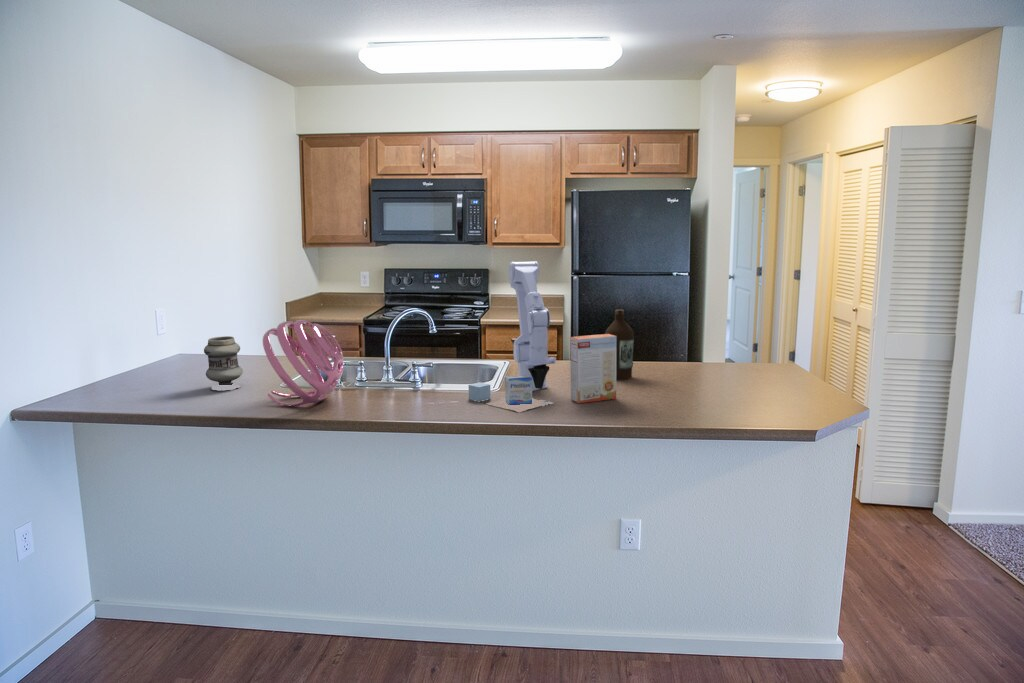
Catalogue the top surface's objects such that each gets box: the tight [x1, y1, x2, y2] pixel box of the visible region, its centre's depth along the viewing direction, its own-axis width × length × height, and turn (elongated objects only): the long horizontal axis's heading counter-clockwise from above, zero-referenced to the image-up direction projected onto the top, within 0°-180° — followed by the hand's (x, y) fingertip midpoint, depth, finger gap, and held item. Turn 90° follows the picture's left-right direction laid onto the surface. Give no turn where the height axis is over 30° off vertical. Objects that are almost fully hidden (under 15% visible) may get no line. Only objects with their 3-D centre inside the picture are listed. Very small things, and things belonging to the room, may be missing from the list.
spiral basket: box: [262, 319, 344, 407], centre depth 229 cm, size 28×28×27 cm
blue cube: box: [468, 382, 491, 402], centre depth 232 cm, size 5×5×5 cm
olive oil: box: [604, 309, 635, 381], centre depth 260 cm, size 11×11×25 cm
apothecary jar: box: [203, 335, 244, 385], centre depth 250 cm, size 12×12×18 cm
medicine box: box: [504, 375, 533, 405], centre depth 226 cm, size 8×4×9 cm, turn 106°
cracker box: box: [569, 333, 617, 404], centre depth 229 cm, size 14×6×21 cm, turn 111°
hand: (538, 388), depth 232 cm, fingers closed
